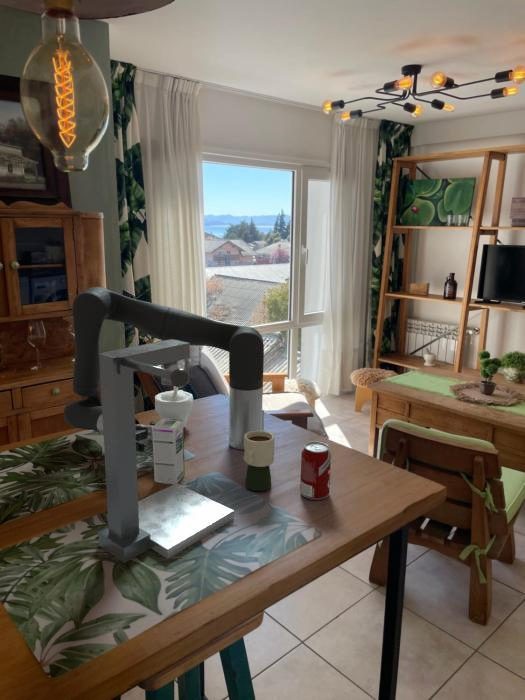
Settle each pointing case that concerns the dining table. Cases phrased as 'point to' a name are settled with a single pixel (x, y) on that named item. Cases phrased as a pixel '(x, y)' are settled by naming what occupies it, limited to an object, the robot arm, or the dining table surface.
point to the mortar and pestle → (174, 402)
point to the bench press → (121, 464)
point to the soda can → (315, 471)
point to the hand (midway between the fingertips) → (157, 442)
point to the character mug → (258, 459)
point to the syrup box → (168, 451)
